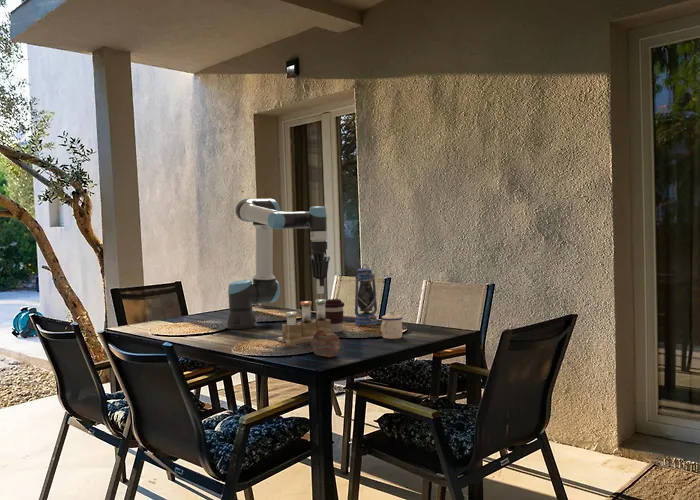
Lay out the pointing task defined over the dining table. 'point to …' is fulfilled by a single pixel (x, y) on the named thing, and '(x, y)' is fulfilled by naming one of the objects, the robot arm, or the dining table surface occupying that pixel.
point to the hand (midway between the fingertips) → (320, 293)
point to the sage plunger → (320, 309)
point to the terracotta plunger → (306, 311)
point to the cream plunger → (291, 318)
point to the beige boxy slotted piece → (304, 331)
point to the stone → (325, 344)
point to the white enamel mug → (391, 326)
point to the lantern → (365, 297)
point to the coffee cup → (334, 314)
